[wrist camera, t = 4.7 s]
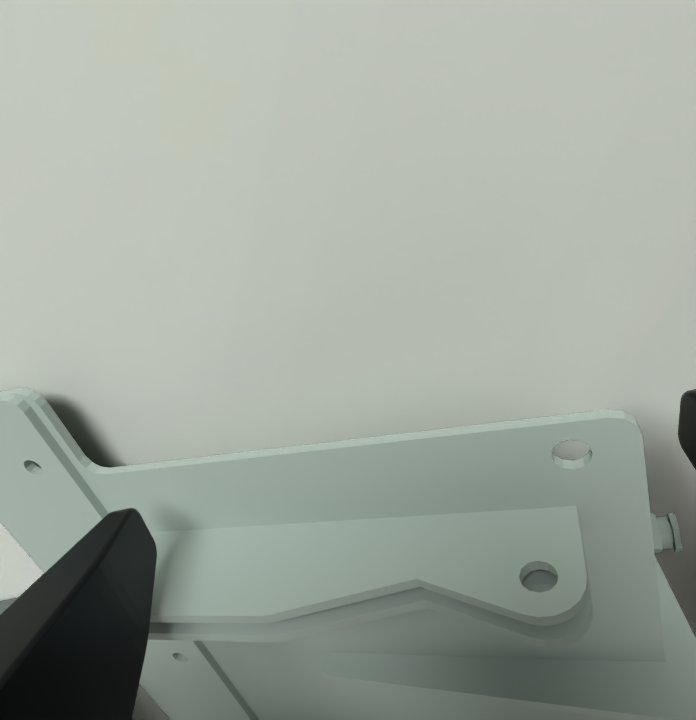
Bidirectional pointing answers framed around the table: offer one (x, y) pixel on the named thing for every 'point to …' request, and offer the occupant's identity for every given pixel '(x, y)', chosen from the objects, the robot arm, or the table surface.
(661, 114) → the table surface
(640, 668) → the metal bracket
